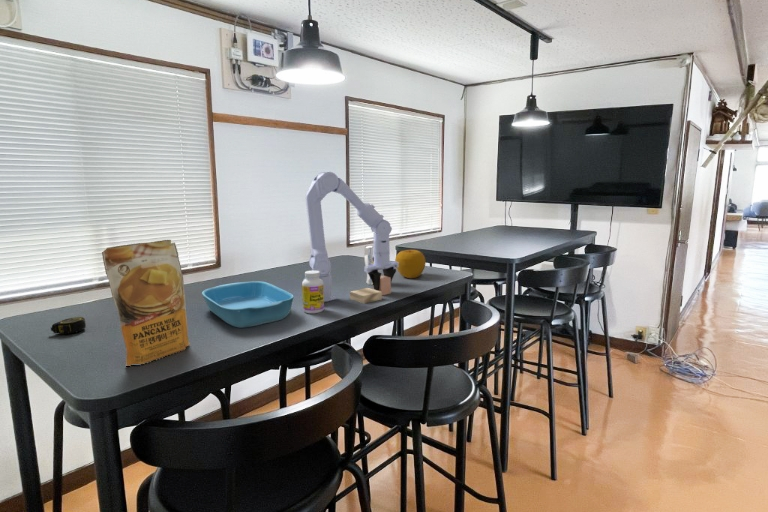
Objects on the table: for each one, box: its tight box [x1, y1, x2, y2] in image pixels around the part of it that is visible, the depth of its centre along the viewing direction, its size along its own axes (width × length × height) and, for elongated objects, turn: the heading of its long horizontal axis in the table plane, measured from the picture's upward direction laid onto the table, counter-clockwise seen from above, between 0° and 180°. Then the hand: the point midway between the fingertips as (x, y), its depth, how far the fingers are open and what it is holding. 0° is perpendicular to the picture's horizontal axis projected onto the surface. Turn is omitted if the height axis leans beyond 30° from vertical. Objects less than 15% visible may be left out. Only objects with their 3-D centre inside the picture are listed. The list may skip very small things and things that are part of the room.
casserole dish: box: [201, 280, 294, 329], centre depth 144 cm, size 37×22×7 cm, turn 37°
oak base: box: [349, 287, 383, 304], centre depth 159 cm, size 8×8×3 cm
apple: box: [394, 249, 427, 279], centre depth 192 cm, size 13×13×11 cm
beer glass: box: [363, 244, 382, 286], centre depth 180 cm, size 7×7×15 cm
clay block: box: [379, 275, 392, 296], centre depth 166 cm, size 4×4×6 cm
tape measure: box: [50, 316, 87, 335], centre depth 130 cm, size 7×7×4 cm
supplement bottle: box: [301, 270, 325, 314], centre depth 145 cm, size 7×7×13 cm
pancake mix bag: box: [101, 239, 191, 368], centre depth 109 cm, size 7×19×28 cm, turn 146°
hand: (382, 289), depth 166 cm, fingers closed on clay block, 4 cm apart
